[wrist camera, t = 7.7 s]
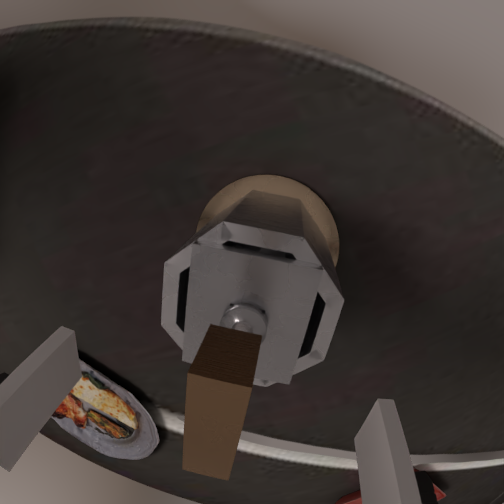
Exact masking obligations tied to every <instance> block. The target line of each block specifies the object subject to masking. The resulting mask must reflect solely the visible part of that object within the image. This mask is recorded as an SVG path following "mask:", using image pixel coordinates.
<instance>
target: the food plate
mask: <svg viewBox="0 0 504 504" xmlns="http://www.w3.org/2000/svg"><path fill="white" fill-rule="evenodd" d="M79 362H80V368H81V373H82V377H81V379H80V380H79V381H78V382H77V384H76V385H75V386H74V387H73V389H72V390H71V391H70V392H69V394H68V395H67V396H66V397H65V399H64V400H63V401H62V403H61V404H60V405H59V406H58V408H57V409H56V410H55V412H54V413H53V414H52V415H51V417H52V418H53V419H54V420H55V421H56V422H57V423H58V424H59V425H60V426H61V428H63V429H64V430H66V431H67V432H69V434H71V435H73V436H74V437H76V438H77V439H79V440H80V441H81V442H83V443H85V444H87V445H88V446H90V447H91V448H93V449H96V451H98V452H100V453H102V454H105V455H108V456H111V457H116V458H120V459H122V458H123V459H133V460H136V459H142V458H145V457H148V456H149V455H150V454H151V453H152V452H153V451H154V449H155V448H156V446H157V445H158V444H159V441H160V440H159V435H158V433H157V432H158V431H157V428H156V425H155V423H154V422H153V420H152V418H151V416H150V414H149V413H148V412H147V411H146V409H145V408H144V407H143V406H142V404H141V403H140V402H139V401H138V400H137V399H136V398H135V397H134V396H133V394H132V393H130V392H129V391H127V390H125V389H124V388H123V387H120V385H117V384H116V383H114V382H113V380H112V381H111V380H110V379H109V378H108V377H106V376H105V375H103V374H102V373H100V372H99V371H97V370H95V369H94V368H92V367H91V366H89V365H88V364H86V363H85V362H83V361H81V360H80V359H79ZM111 416H112V417H111ZM113 417H114V418H113ZM115 418H117V419H118V420H120V421H121V422H123V423H125V424H126V425H128V426H130V427H132V428H134V429H135V431H134V432H133V434H132V436H131V437H129V438H125V439H120V440H119V439H115V438H114V439H113V438H111V437H109V436H108V435H109V434H108V435H104V434H102V433H101V434H99V433H100V432H99V433H98V431H97V430H95V429H94V428H95V426H96V427H97V428H99V429H100V430H101V431H102V432H104V430H105V431H107V432H109V433H110V434H111V435H113V436H114V437H116V438H120V437H121V436H122V437H126V436H127V435H129V433H128V432H129V430H128V429H127V428H126V427H124V426H123V425H121V424H119V423H118V422H117V421H116V419H115ZM87 425H88V426H87ZM89 425H90V426H89ZM91 425H92V426H93V427H94V428H93V427H91ZM92 428H93V429H94V430H95V432H97V433H95V432H94V431H92V430H93V429H92ZM103 429H104V430H103ZM107 432H106V433H107ZM104 433H105V432H104ZM103 435H104V436H103Z"/></svg>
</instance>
